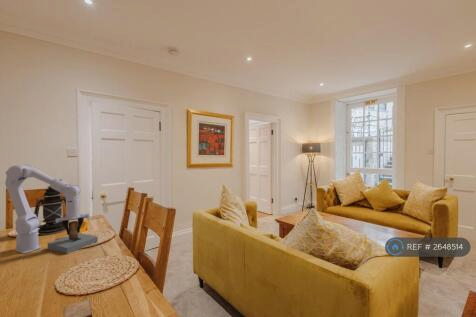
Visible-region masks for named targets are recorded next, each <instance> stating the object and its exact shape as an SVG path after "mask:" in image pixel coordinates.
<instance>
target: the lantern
mask: <svg viewBox="0 0 476 317" xmlns="http://www.w3.org/2000/svg"><path fill="white" fill-rule="evenodd" d="M43 193H44V194H43V195H41V196H42V197H43V198H42V199H39V198H35V201H36V203H35V208H34V212H33V213H34V214H35V215H36V216H37V218H38V217H39V214H40V213H39V212H40V206H41V205H42V219H43V220H40V221H41V223H44V224H41V225H40V226H39V227H38V233H39V234H41V235H40V236H49V235H51V236H52V235H55V234H59V233H63V232H65V231H66V229H65V227H64V225H63V224H62V222H58V223H56V218H62V217H66V214H65V215H62V211H63V210H62V207H63V203H64V204H65V207H66V197H65V196H63V193H61V192H59V191H57V190H55V189H53V188H51V187H50V185H49V186H47V188H46V189H45V191H44V192H43ZM38 219H39V218H38ZM69 222H70V221H68V223H69ZM66 232H67V231H66ZM39 234H38V235H39Z"/></svg>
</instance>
